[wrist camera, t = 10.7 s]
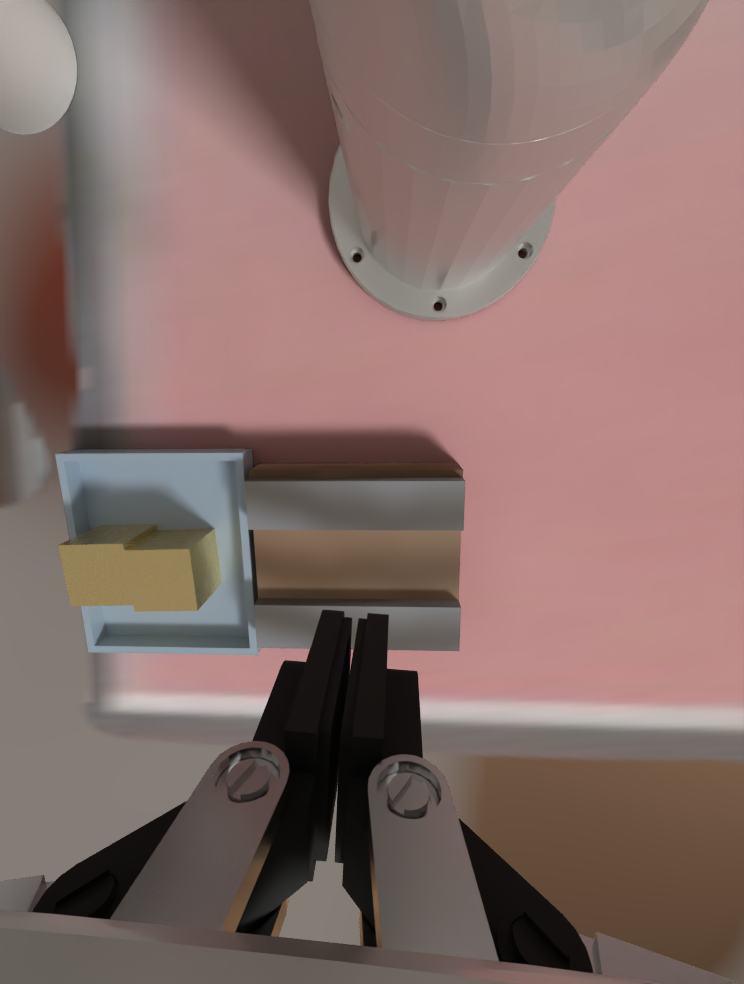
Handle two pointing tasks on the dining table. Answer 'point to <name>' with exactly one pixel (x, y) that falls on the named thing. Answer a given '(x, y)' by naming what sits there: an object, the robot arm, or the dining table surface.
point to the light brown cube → (173, 570)
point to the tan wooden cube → (101, 564)
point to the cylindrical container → (34, 67)
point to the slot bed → (357, 549)
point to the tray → (171, 505)
